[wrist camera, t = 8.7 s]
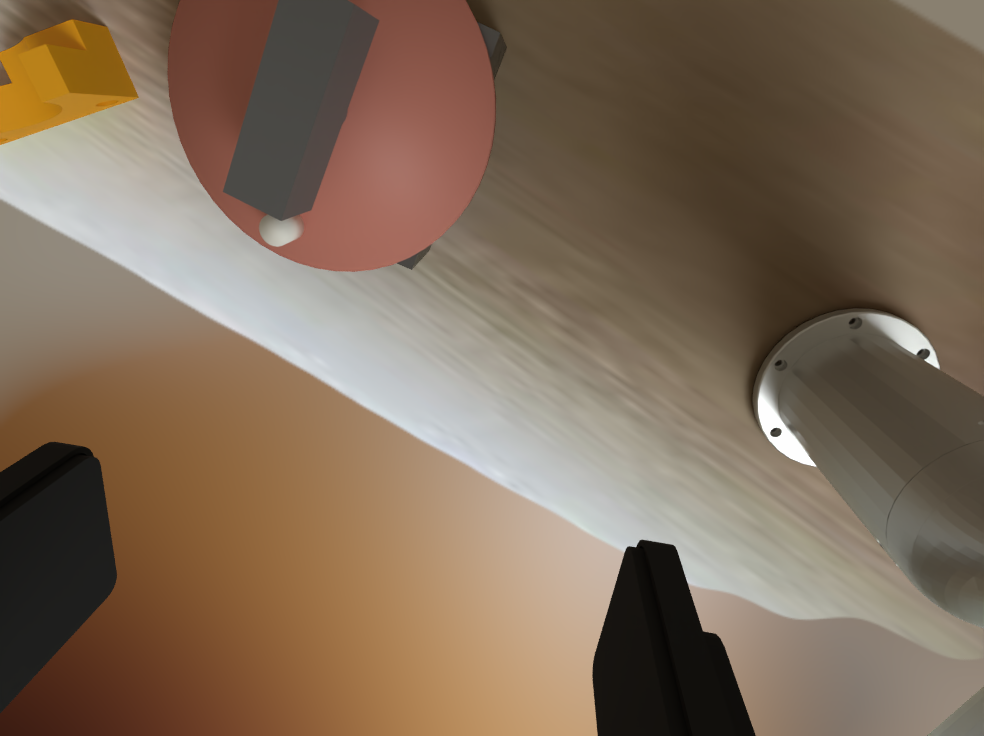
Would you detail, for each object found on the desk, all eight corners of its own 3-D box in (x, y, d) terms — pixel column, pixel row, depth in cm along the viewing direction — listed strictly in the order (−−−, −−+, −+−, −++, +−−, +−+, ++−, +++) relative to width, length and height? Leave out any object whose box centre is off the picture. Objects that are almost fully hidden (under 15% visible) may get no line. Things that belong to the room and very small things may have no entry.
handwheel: (230, -162, 28) (134, -252, 21) (555, 23, 30) (559, -6, 23) (148, 182, 35) (56, 195, 28) (417, 316, 37) (390, 357, 30)
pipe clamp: (109, 27, 38) (28, 9, 32) (140, 97, 39) (69, 92, 33) (-39, 81, 40) (-140, 74, 34) (-3, 146, 41) (-94, 150, 36)
